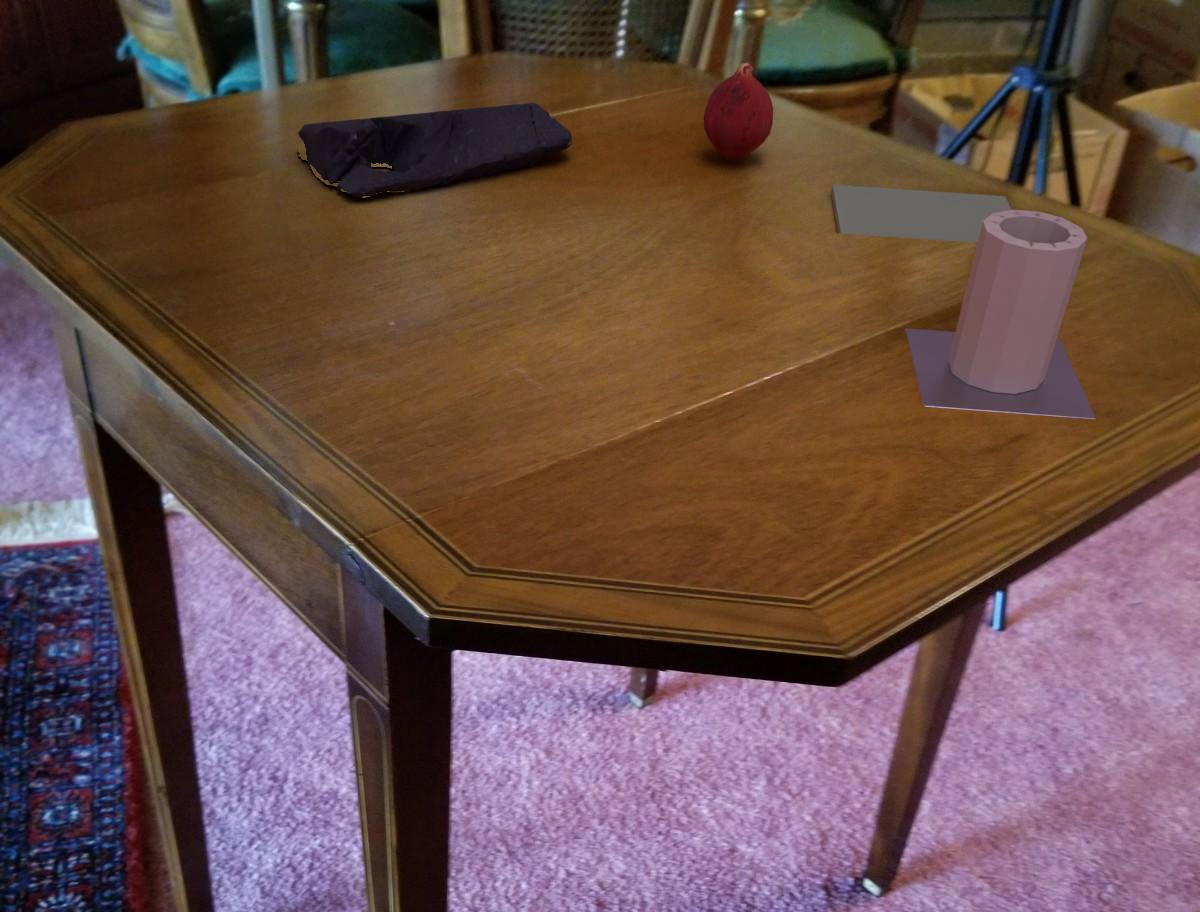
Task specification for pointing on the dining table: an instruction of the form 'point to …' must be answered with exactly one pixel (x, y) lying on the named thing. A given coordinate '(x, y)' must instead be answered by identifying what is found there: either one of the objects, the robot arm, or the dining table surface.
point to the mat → (913, 212)
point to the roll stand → (948, 391)
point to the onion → (738, 115)
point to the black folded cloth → (431, 146)
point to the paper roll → (1015, 300)
